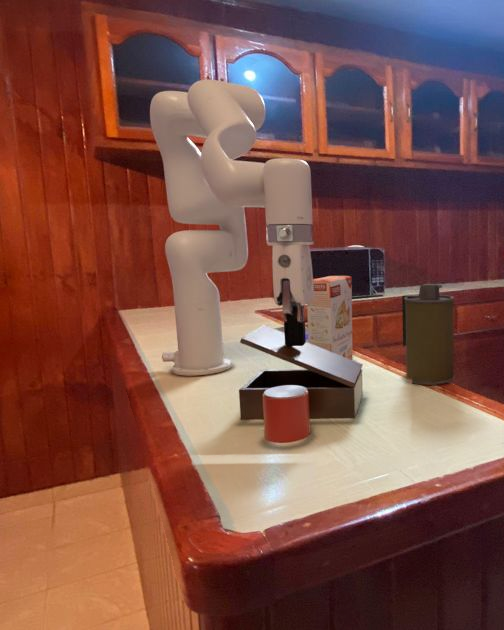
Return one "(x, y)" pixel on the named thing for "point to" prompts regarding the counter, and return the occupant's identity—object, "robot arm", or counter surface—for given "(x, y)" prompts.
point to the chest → (323, 394)
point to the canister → (429, 336)
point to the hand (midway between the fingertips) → (295, 344)
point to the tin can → (286, 413)
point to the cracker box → (331, 315)
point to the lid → (304, 355)
